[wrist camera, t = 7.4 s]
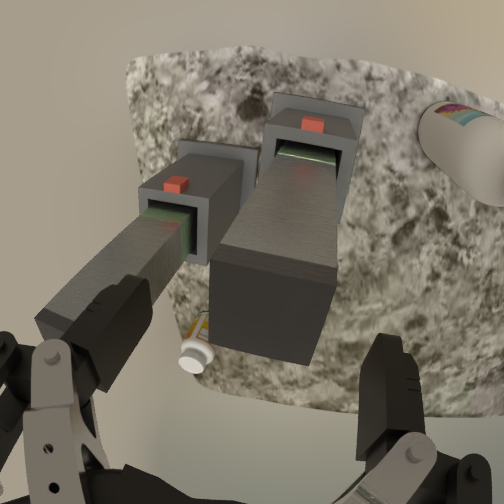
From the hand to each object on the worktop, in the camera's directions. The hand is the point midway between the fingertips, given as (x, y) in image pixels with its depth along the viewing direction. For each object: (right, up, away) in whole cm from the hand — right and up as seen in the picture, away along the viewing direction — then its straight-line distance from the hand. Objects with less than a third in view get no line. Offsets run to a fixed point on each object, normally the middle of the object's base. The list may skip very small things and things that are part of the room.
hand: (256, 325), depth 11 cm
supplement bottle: (-7, -9, +43) cm, 45 cm away
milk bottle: (+22, +16, +20) cm, 34 cm away
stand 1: (-5, +11, +30) cm, 32 cm away
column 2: (+5, +11, +18) cm, 22 cm away
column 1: (-6, +8, +24) cm, 26 cm away
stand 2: (+7, +15, +24) cm, 29 cm away
